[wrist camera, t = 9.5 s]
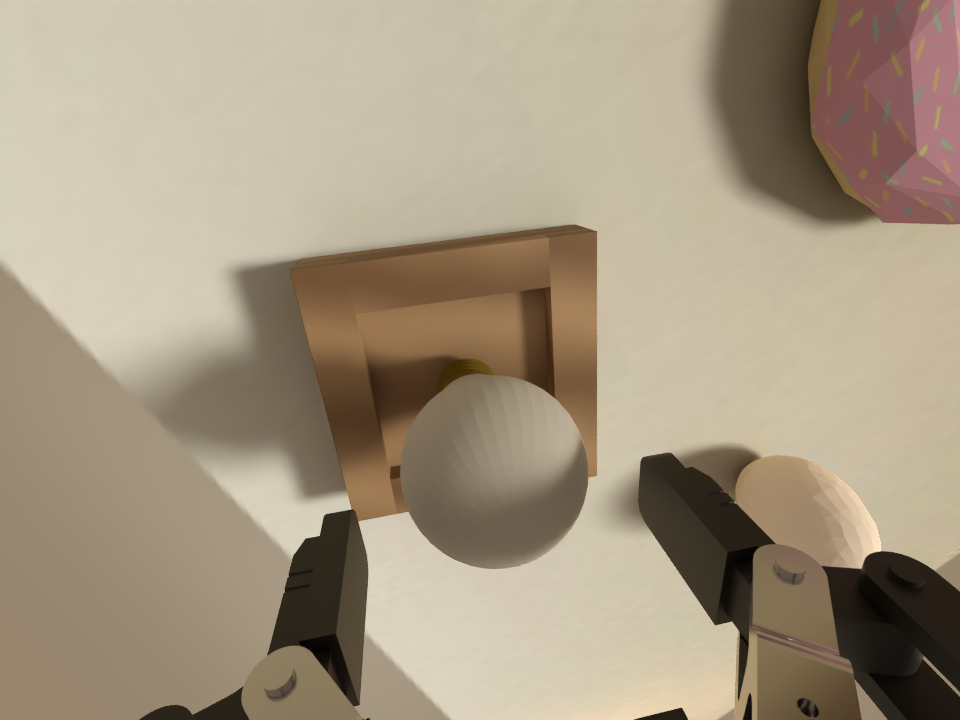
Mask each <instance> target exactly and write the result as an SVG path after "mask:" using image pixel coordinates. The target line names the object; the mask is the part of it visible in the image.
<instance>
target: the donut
mask: <svg viewBox="0 0 960 720" xmlns="http://www.w3.org/2000/svg"><path fill="white" fill-rule="evenodd" d="M808 80H809V99H810V118H811V136H812V138H813V140H814V142H815V143H816V145H817V147H818V149H819V150H820V152H821V154H822V155H823V157H824V159H825V160H826V162H827V164H828V165H829V167H830V169H831V171H832V172H833V174H834V176H835V177H836V179H837V181H838V182H839V184H840V186H841V187H842V189H843V191H844V193H846V194H848V195H849V196H851V197H853V198H854V199H856V200H858V201H859V202H861V203H863V204H864V205H866V206H868V207H869V208H871V210H872V211H873V212H874V213H875V214H876V215H877V216H878V218H879V219H880V220H881V221H882V222H884V223H920V224H960V0H821V2H820V6H819V10H818V14H817V19H816V23H815V27H814V31H813V36H812V42H811V49H810V55H809V61H808Z"/></svg>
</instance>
